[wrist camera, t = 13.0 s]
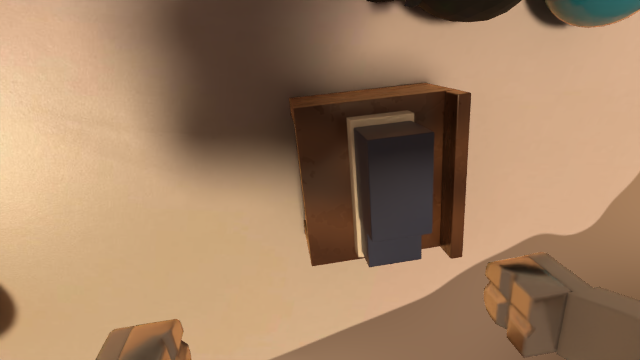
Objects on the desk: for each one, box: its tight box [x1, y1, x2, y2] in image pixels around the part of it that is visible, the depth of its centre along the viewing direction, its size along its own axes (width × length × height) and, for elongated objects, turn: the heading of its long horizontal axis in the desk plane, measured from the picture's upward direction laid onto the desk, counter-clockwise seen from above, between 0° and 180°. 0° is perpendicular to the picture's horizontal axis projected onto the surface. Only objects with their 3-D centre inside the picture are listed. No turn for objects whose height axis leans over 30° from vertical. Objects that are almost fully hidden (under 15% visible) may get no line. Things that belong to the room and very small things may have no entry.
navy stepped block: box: [346, 110, 434, 267], centre depth 26 cm, size 11×5×5 cm, turn 5°
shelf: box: [289, 83, 471, 266], centre depth 30 cm, size 13×12×8 cm
